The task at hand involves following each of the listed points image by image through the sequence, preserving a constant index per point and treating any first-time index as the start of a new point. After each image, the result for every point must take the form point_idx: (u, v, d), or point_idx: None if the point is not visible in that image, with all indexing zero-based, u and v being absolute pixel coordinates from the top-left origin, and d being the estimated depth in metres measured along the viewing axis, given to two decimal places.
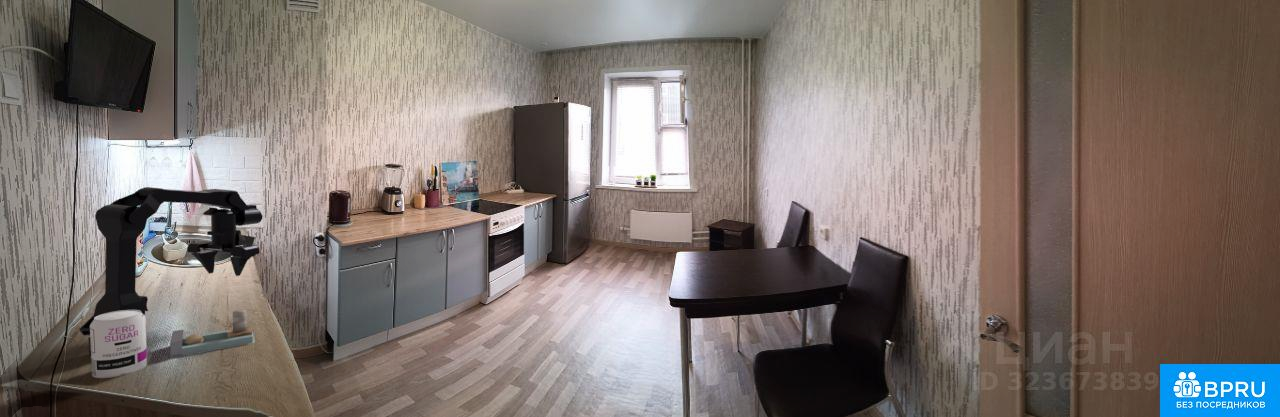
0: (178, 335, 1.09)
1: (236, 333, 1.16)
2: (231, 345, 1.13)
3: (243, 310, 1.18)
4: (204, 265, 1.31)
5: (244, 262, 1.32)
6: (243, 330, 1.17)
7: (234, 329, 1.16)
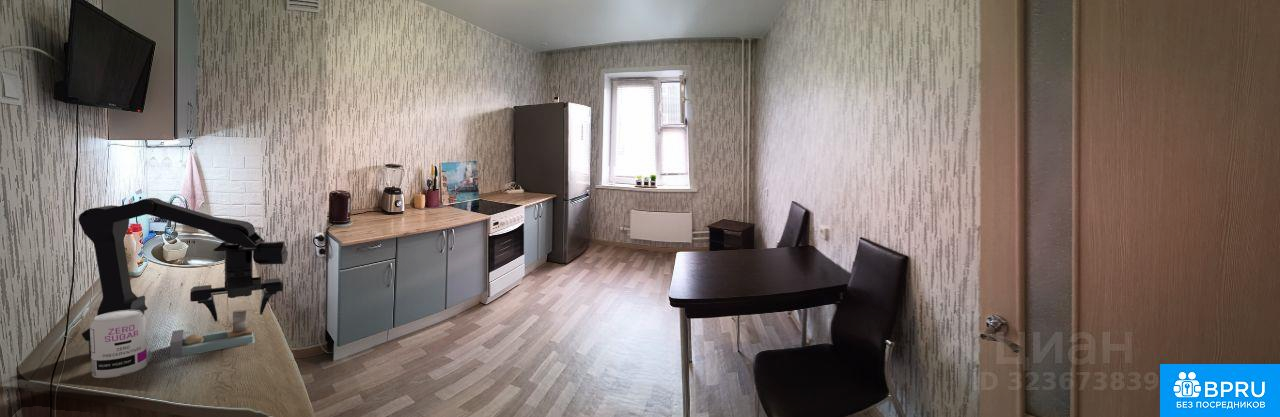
0: (178, 335, 1.09)
1: (236, 333, 1.16)
2: (231, 345, 1.13)
3: (243, 310, 1.18)
4: None
5: None
6: (243, 330, 1.17)
7: (234, 329, 1.16)
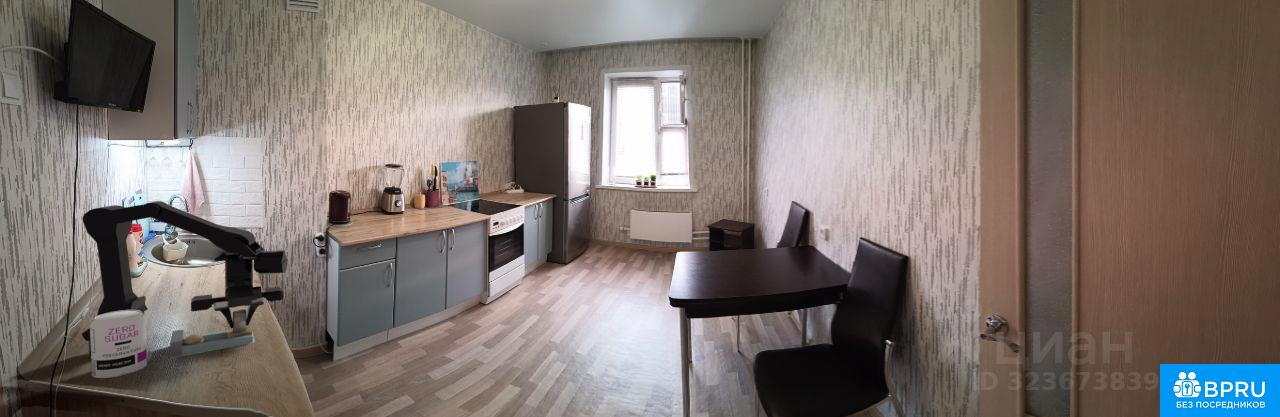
0: (178, 335, 1.09)
1: (236, 333, 1.16)
2: (231, 345, 1.13)
3: (243, 310, 1.18)
4: None
5: None
6: (243, 330, 1.17)
7: (234, 329, 1.16)
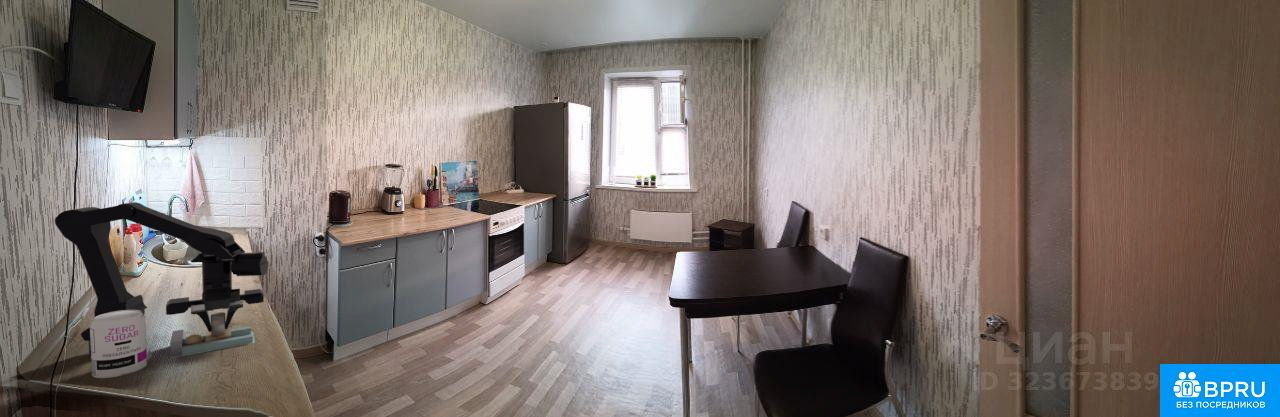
0: (178, 335, 1.09)
1: (214, 336, 1.13)
2: (231, 345, 1.13)
3: (222, 313, 1.14)
4: None
5: None
6: (222, 334, 1.14)
7: (212, 333, 1.13)
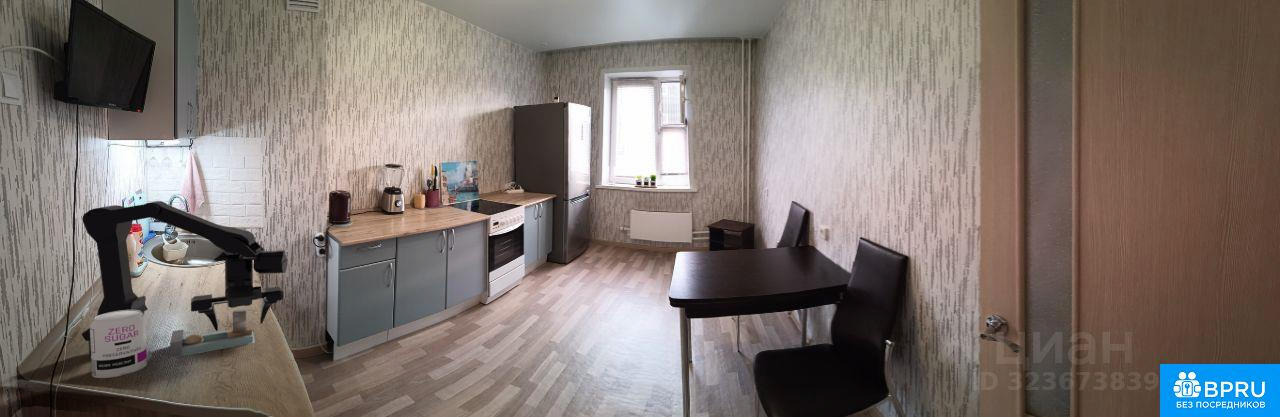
0: (178, 335, 1.09)
1: (236, 333, 1.16)
2: (231, 345, 1.13)
3: (243, 310, 1.18)
4: None
5: None
6: (243, 330, 1.17)
7: (234, 329, 1.16)
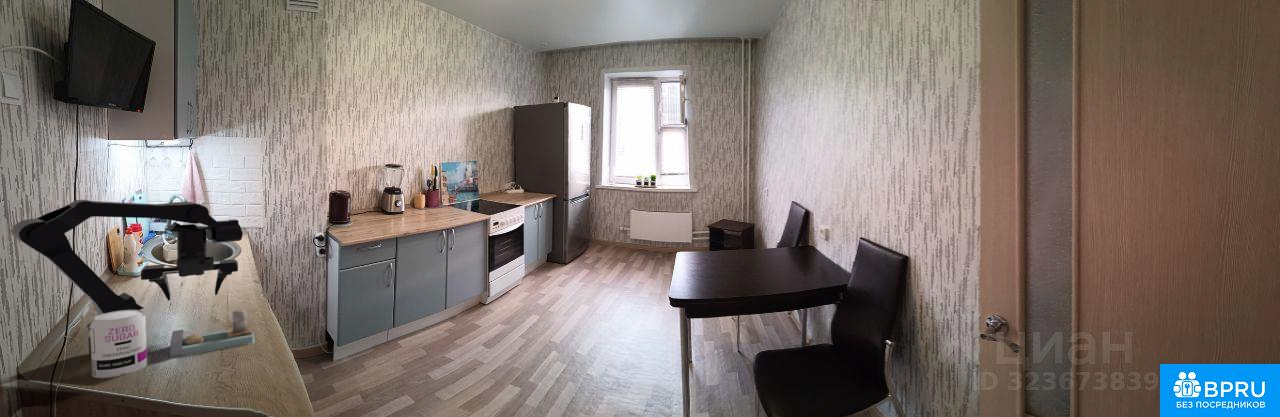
0: (178, 335, 1.09)
1: (236, 333, 1.16)
2: (231, 345, 1.13)
3: (243, 310, 1.18)
4: None
5: None
6: (243, 330, 1.17)
7: (234, 329, 1.16)
